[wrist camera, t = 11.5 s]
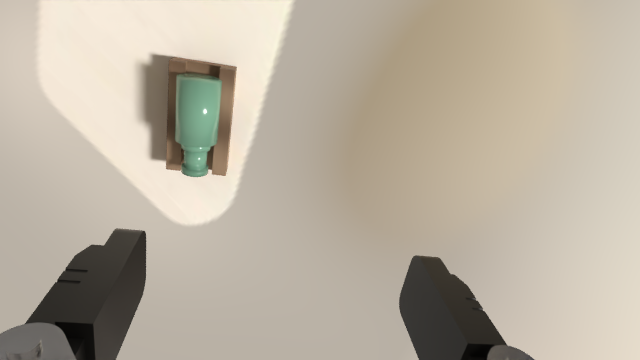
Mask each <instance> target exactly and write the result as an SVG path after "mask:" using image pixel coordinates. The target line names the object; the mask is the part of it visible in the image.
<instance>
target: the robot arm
mask: <svg viewBox="0 0 640 360" xmlns="http://www.w3.org/2000/svg"><path fill="white" fill-rule="evenodd" d="M145 280H146V233H145V231H140V230H129V229H115V230H114V231H113V233H112V234H111V236H110V238H109V239H108V241H107V242H106V244H105V245H104V246H101V245H91V246H89V247H88V248H86V249H84V250H83V251H81V252H80V253H78V254H77V255H75V256H74V258H73V259H72V261H71V262H70V263H69V265H68V266H67V267H66V270H65V271H64V272H63V273H62V274H61V276H60V277H59V278H58V281H57V283H55V284H54V285H53V287H52V288H51V289H50V291H49V292H48V293H47V295H46V296H45V297H44V299H43V300H42V301H41V303H40V304H39V305H38V307H37V308H36V310H35V311H34V312H33V314H32V315H31V316H30V318H29V319H28V320H27V322H26V323H25V324H24V325H20V326H16V327H14V328H11V329H9V330H7V331H5V332H3V333H1V334H0V360H116V358H117V355H118V353H119V350H120V348H121V346H122V343H123V341H124V338H125V336H126V334H127V331H128V329H129V327H130V324H131V322H132V319H133V317H134V315H135V312H136V310H137V307H138V305H139V303H140V300H141V298H142V295H143V291H144V286H145ZM399 305H400V306H399V307H400V313H401V316H402V318H403V321H404V323H405V326H406V328H407V331H408V333H409V336H410V338H411V341H412V343H413V346H414V348H415V350H416V353H417V355H418V358H419V360H534V359H533V358H532V357H531V356H529V355H528V354H526V353H525V352H523V351H521V350H519V349H517V348H514V347H511V346H507V344H506V343H505V341H504V340H503V338H502V337H501V335H500V334H499V332H498V331H497V329H496V328H495V326H494V325H493V323H492V322H491V320H490V319H489V317H488V316H487V314H486V313H485V312H484V311H483V308H482V307H481V305H480V304H479V302H478V301H476V298H475V296H474V295H473V293H472V292H471V291H470V289H469V287H468V286H467V285H466V284H464V282H462V281H461V280H460V279H459V278H457V276H455V275H453V274H450V273H449V271H448V270H447V268H446V266H445V265H444V263H443V262H442V261H441V259H440V258H438V257H427V256H414V257H413V258H412V260H411V263H410V266H409V269H408V272H407V275H406V278H405V282H404V284H403V287H402V290H401V294H400V300H399Z"/></svg>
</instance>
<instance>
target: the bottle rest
mask: <svg viewBox="0 0 640 360" xmlns="http://www.w3.org/2000/svg"><path fill="white" fill-rule="evenodd" d="M236 70H237V67H233V66H227V65H221V64H215V63H208V62H202V61H196V60H190V59H183V58H177V57H173V58H172V59H171V60H169V83H168V120H167V156H166V169H170V170H179V171H180V170H181V165H182V163H184V150H183V149H182V148H181V144H179V143H178V142H176V141H175V111H176V79H177V75H178V74H182V73H196V74H204V75H209V76H213V77H216V78H219V79H221V80H222V88H221V101H220V114H219V128H218V141H217V144H215V145H214V146H211V149H210V151H208V152H207V165H208V169H211V170H212V174H214V175H222V176H226V171H227V167H228V156H229V145H230V134H231V124H232V113H233V102H234V91H235V81H236Z"/></svg>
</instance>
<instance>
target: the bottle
mask: <svg viewBox="0 0 640 360" xmlns="http://www.w3.org/2000/svg"><path fill="white" fill-rule="evenodd" d="M221 88H222V80H221V79H219V78H216V77H213V76H209V75H204V74H196V73H182V74H178V75H177V79H176V111H175V141H176V142H178V143H179V144H181V148H182V149H183V150H184V163H182V165H181V172H182V173H183V174H184V175H187V176H191V177H201V176H205V175H207V174H208V165H207V152H208V151H210V149H211V146H214V145H215V144H217V141H218V128H219V114H220V101H221Z"/></svg>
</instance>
